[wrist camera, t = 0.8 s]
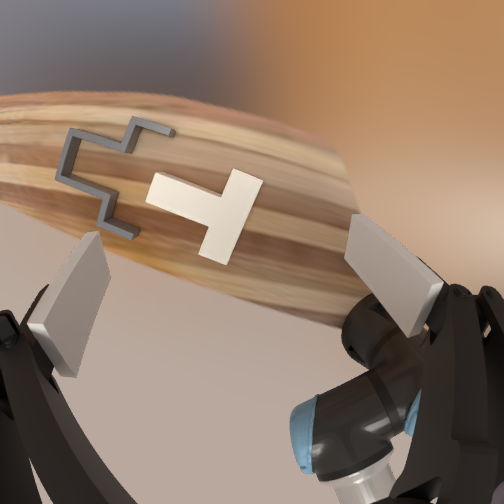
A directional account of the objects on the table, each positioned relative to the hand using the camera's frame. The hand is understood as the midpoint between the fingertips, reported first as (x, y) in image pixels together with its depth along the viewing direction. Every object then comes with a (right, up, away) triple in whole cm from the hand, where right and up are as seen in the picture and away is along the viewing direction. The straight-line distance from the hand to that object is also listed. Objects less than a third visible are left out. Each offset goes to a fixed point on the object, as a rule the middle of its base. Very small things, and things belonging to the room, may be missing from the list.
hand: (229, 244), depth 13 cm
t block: (-6, +7, +24) cm, 26 cm away
